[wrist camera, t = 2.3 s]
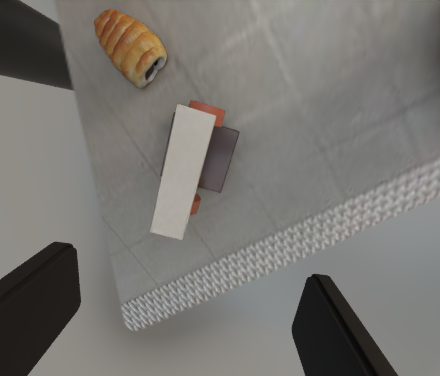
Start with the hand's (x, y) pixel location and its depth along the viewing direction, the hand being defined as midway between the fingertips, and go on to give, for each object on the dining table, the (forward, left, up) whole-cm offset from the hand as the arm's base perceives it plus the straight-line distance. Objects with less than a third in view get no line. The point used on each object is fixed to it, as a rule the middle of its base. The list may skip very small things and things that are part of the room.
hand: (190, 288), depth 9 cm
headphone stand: (-3, +1, -27) cm, 27 cm away
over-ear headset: (-3, +1, -23) cm, 23 cm away
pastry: (-15, +12, -27) cm, 33 cm away
